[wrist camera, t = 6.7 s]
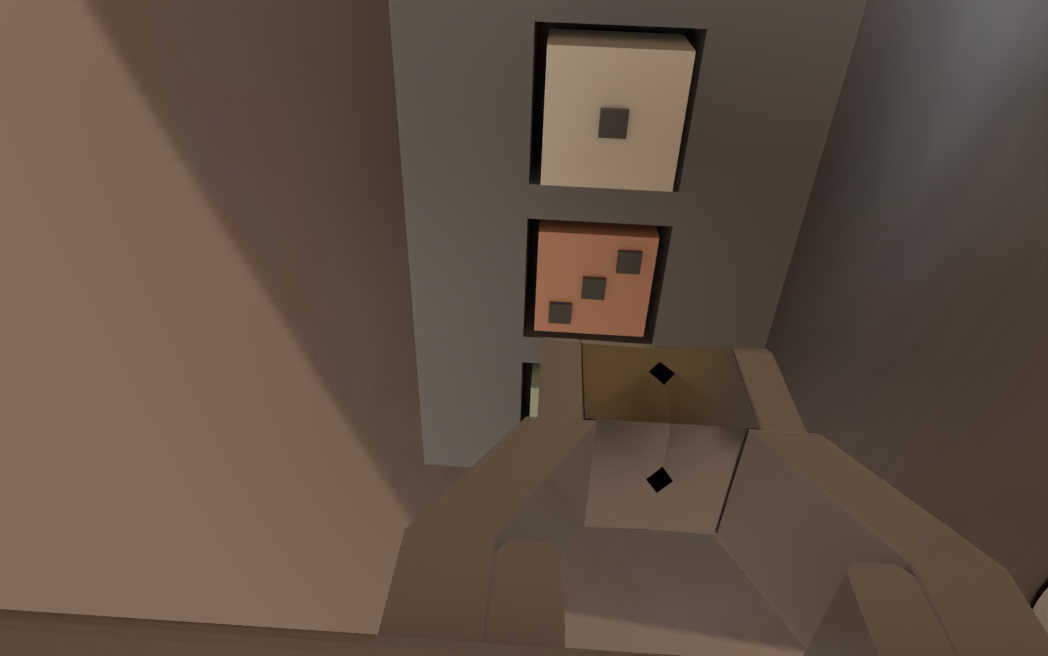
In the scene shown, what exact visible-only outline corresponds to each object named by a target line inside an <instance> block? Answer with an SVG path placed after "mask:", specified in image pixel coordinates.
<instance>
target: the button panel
mask: <svg viewBox="0 0 1048 656" xmlns="http://www.w3.org/2000/svg"><path fill="white" fill-rule="evenodd" d="M867 1H868V0H388V3H389V16H390V28H391V41H392V54H393V67H394V80H395V92H396V105H397V118H398V131H399V143H400V156H401V169H402V182H403V195H404V207H405V220H406V233H407V246H408V258H409V271H410V284H411V297H412V310H413V322H414V335H415V348H416V361H417V373H418V386H419V399H420V412H421V424H422V437H423V450H424V463H425V464H430V465H445V466H460V467H472V466H474V465H475V464H476V463H477V462H478V461H479V460H480V459H481V458H482V457H483V456H484V455H485V454H486V453H488V452H489V451H490V450H491V449H492V448H493V447H494V446H495V445H496V444H497V443H498V442H499V441H500V440H502V439H503V438H504V437H505V436H506V435H507V434H508V433H509V432H510V431H511V430H512V429H513V428H514V427H516V426H517V425H518V424H519V423H520V422H521V421H522V420H523V419H524V418H525V417H530V406H523V401H524V376H525V363H540V361H541V343H542V339H543V337H549V338H567V339H579V340H580V342H581V339H583V340H596V341H610V342H623V343H636V344H649V345H655V346H672V347H695V348H717V349H728V348H748V349H765V347H766V343H767V340H768V336H769V333H770V330H771V326H772V323H773V319H774V316H775V313H776V309H777V306H778V303H779V299H780V296H781V292H782V289H783V286H784V282H785V279H786V275H787V272H788V269H789V265H790V262H791V259H792V255H793V252H794V248H795V245H796V242H797V238H798V235H799V231H800V228H801V225H802V221H803V218H804V214H805V211H806V208H807V204H808V201H809V198H810V194H811V191H812V187H813V184H814V181H815V177H816V174H817V170H818V167H819V164H820V160H821V157H822V154H823V150H824V147H825V143H826V140H827V137H828V133H829V130H830V126H831V123H832V120H833V116H834V113H835V110H836V106H837V103H838V99H839V96H840V93H841V89H842V86H843V82H844V79H845V76H846V72H847V69H848V66H849V62H850V59H851V55H852V52H853V49H854V45H855V42H856V38H857V35H858V32H859V28H860V25H861V22H862V18H863V15H864V11H865V8H866V5H867ZM538 22H560V23H582V24H605V25H628V26H650V27H673V28H688V34H687V40H688V41H689V43H690V44H691V45H692V47H693V48H694V49H695V51H696V54H695V60H694V66H693V72H692V78H691V83H690V89H689V95H688V101H687V107H686V113H685V119H684V125H683V131H682V137H681V143H680V149H679V155H678V161H677V167H676V173H675V179H674V185H673V191H672V192H666V191H647V190H628V189H609V188H590V187H571V186H552V185H540V184H541V163H542V153H536V152H533V148H534V122H535V97H536V71H537V46H538ZM531 219H546V220H564V221H583V222H601V223H620V224H638V225H657V231H658V235H659V244H658V250H657V256H656V262H655V268H654V274H653V280H652V286H651V293H650V299H649V305H648V311H647V317H646V323H645V329H644V335H643V337H636V336H620V335H603V334H586V333H569V332H553V331H536V330H534V323H535V302H536V295H528V274H529V249H530V224H531Z"/></svg>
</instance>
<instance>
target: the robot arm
mask: <svg viewBox="0 0 1048 656" xmlns="http://www.w3.org/2000/svg"><path fill="white" fill-rule="evenodd" d="M584 527H603V528H631V529H652V530H664V531H675V532H686V533H697V534H708V535H716V539H717V541H718V542H719V543H720V544H721V546H722V547H723V548H724V549H725V551H726V552H727V553H728V554H729V555H730V557H731V558H732V559H733V560H734V562H735V563H736V564H737V565H738V566H739V568H740V569H741V570H742V571H743V573H744V574H745V575H746V576H747V578H748V579H749V580H750V581H751V582H752V584H753V585H754V586H755V587H756V589H757V590H758V591H759V592H760V593H761V595H762V596H763V597H764V598H765V600H766V601H767V602H768V603H769V605H770V606H771V607H772V608H773V609H774V611H775V612H776V613H777V614H778V616H779V617H780V618H781V619H782V621H783V622H784V623H785V624H786V625H787V627H788V628H789V629H790V630H791V632H792V633H793V634H794V635H795V636H796V638H797V639H798V640H799V641H800V643H801V644H802V645H803V646H804V648H805V649H806V652H805V654H804V656H1048V588H1047V589H1046V590H1045V591H1044V592H1043V594H1042V595H1041V596H1040V598H1039V599H1038V601H1037V602H1036V604H1035V606H1034V608H1033V610H1032V608H1031V607H1030V605H1029V604H1028V602H1027V600H1026V599H1025V597H1024V596H1023V594H1022V593H1021V591H1020V589H1019V588H1018V586H1017V585H1016V583H1015V582H1014V580H1013V578H1012V577H1011V575H1010V574H1009V572H1008V570H1007V569H1006V568H1004V567H1003V566H1002V565H1000V564H999V563H997V562H996V561H995V560H993V559H992V558H991V557H989V556H988V555H986V554H985V553H984V552H982V551H981V550H980V549H978V548H977V547H975V546H974V545H973V544H971V543H970V542H968V541H967V540H966V539H964V538H963V537H962V536H960V535H959V534H957V533H956V532H955V531H953V530H952V529H951V528H949V527H948V526H946V525H945V524H944V523H942V522H941V521H939V520H938V519H937V518H935V517H934V516H933V515H931V514H930V513H928V512H927V511H926V510H924V509H923V508H922V507H920V506H919V505H917V504H916V503H915V502H913V501H912V500H910V499H909V498H908V497H906V496H905V495H904V494H902V493H901V492H899V491H898V490H897V489H895V488H894V487H892V486H891V485H890V484H888V483H887V482H886V481H884V480H883V479H881V478H880V477H879V476H877V475H876V474H875V473H873V472H872V471H870V470H869V469H868V468H866V467H865V466H863V465H862V464H861V463H859V462H858V461H857V460H855V459H854V458H852V457H851V456H850V455H848V454H847V453H846V452H844V451H843V450H841V449H840V448H839V447H837V446H836V445H834V444H833V443H832V442H830V441H829V440H828V439H826V438H825V437H823V436H822V435H821V434H816V433H807V430H806V428H805V426H804V424H803V421H802V419H801V417H800V415H799V412H798V410H797V408H796V406H795V403H794V401H793V399H792V397H791V394H790V392H789V390H788V388H787V385H786V383H785V381H784V379H783V376H782V374H781V372H780V370H779V367H778V365H777V363H776V361H775V358H774V356H773V354H772V353H771V352H770V351H769V350H767V349H748V348H728V349H717V348H695V347H672V346H655V345H649V344H636V343H623V342H610V341H596V340H583V339H581V342H580V340H579V339H567V338H549V337H543V339H542V343H541V361H540V379H539V397H538V416H537V417H525V418H524V419H523V420H522V421H521V422H520V423H519V424H518V425H517V426H516V427H514V428H513V429H512V430H511V431H510V432H509V433H508V434H507V435H506V436H505V437H504V438H503V439H502V440H500V441H499V442H498V443H497V444H496V445H495V446H494V447H493V448H492V449H491V450H490V451H489V452H488V453H486V454H485V455H484V456H483V457H482V458H481V459H480V460H479V461H478V462H477V463H476V464H475V465H474V466H472V467H471V468H470V469H469V470H468V471H467V472H466V473H465V474H464V475H463V476H462V477H461V478H460V479H458V480H457V481H456V482H455V483H454V484H453V485H452V486H451V487H450V488H449V489H448V490H447V491H445V492H444V493H443V494H442V495H441V496H440V497H439V498H438V499H437V500H436V501H435V502H434V503H433V504H431V505H430V506H429V507H428V508H427V509H426V510H425V511H424V512H423V513H422V514H421V515H420V516H419V517H417V518H416V519H415V520H414V521H413V522H412V523H411V524H410V525H409V526H408V527H407V528H406V529H405V530H404V534H403V538H402V542H401V546H400V550H399V554H398V557H397V562H396V565H395V569H394V573H393V577H392V581H391V585H390V589H389V593H388V597H387V601H386V604H385V608H384V612H383V617H382V620H381V624H380V628H379V632H378V635H375V634H374V635H373V634H360V633H345V632H331V631H316V630H301V629H286V628H272V627H257V626H256V627H255V626H243V625H227V624H213V623H197V622H184V621H169V620H154V619H140V618H124V617H110V616H95V615H80V614H65V613H51V612H36V611H21V610H7V609H0V656H678V655H663V654H648V653H634V652H619V651H605V650H590V649H577V648H565V622H564V620H565V616H564V559H565V558H566V556H567V555H568V553H569V552H570V550H571V549H572V547H573V546H574V544H575V543H576V541H577V540H578V538H579V537H580V535H581V534H582V532H583V531H584Z"/></svg>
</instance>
